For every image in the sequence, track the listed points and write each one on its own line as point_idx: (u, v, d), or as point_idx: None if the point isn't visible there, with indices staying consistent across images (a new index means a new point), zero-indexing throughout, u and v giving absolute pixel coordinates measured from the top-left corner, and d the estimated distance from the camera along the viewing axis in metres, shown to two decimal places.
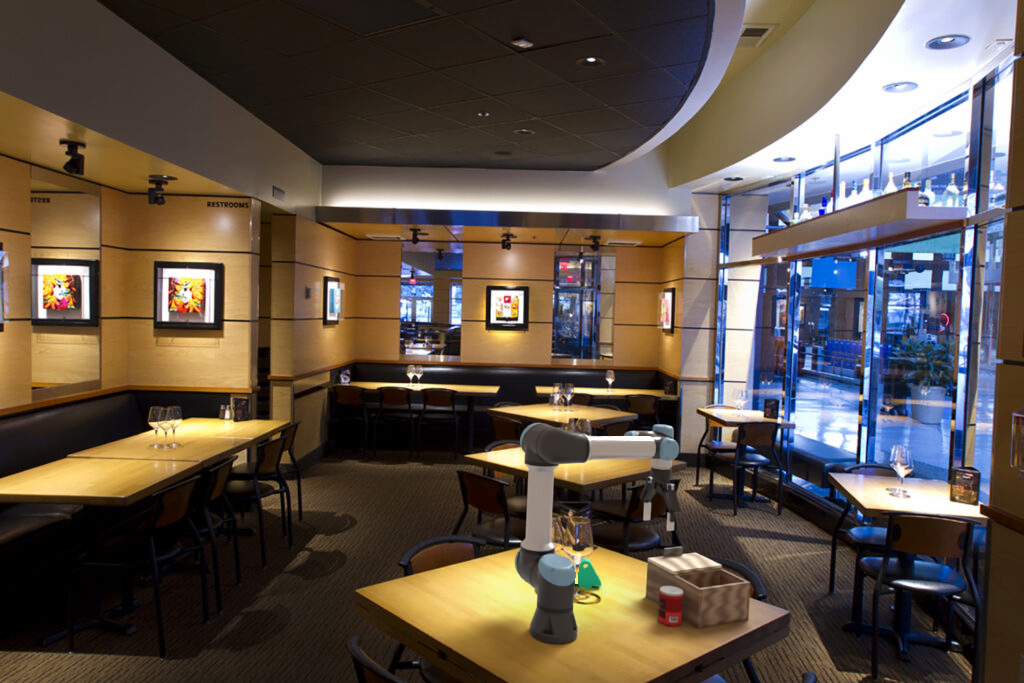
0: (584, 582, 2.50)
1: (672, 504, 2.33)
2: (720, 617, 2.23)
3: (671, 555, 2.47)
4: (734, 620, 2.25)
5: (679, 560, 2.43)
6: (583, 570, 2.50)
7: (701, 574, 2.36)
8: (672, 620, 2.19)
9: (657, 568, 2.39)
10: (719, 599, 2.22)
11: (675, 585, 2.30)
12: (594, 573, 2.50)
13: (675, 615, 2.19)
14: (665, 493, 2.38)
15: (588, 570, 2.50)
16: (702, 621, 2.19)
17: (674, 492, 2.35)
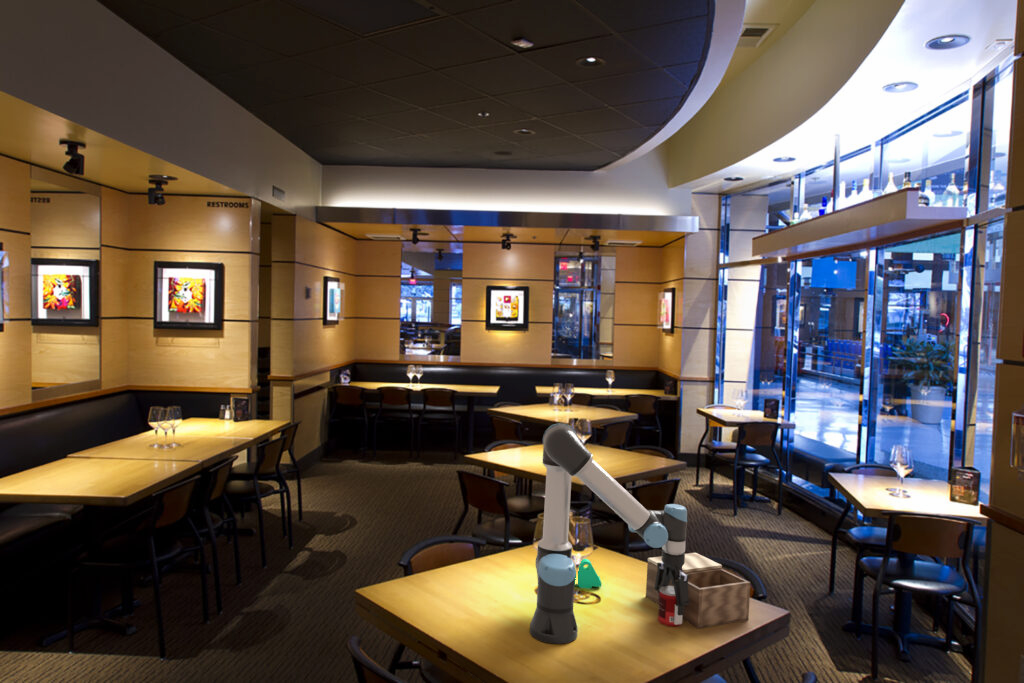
0: (584, 583, 2.49)
1: (681, 597, 2.16)
2: (720, 617, 2.23)
3: None
4: (734, 620, 2.25)
5: None
6: (583, 570, 2.49)
7: (701, 574, 2.36)
8: (673, 620, 2.19)
9: None
10: (719, 599, 2.22)
11: None
12: (594, 573, 2.49)
13: None
14: (676, 582, 2.20)
15: (588, 570, 2.49)
16: (702, 621, 2.19)
17: (686, 583, 2.17)
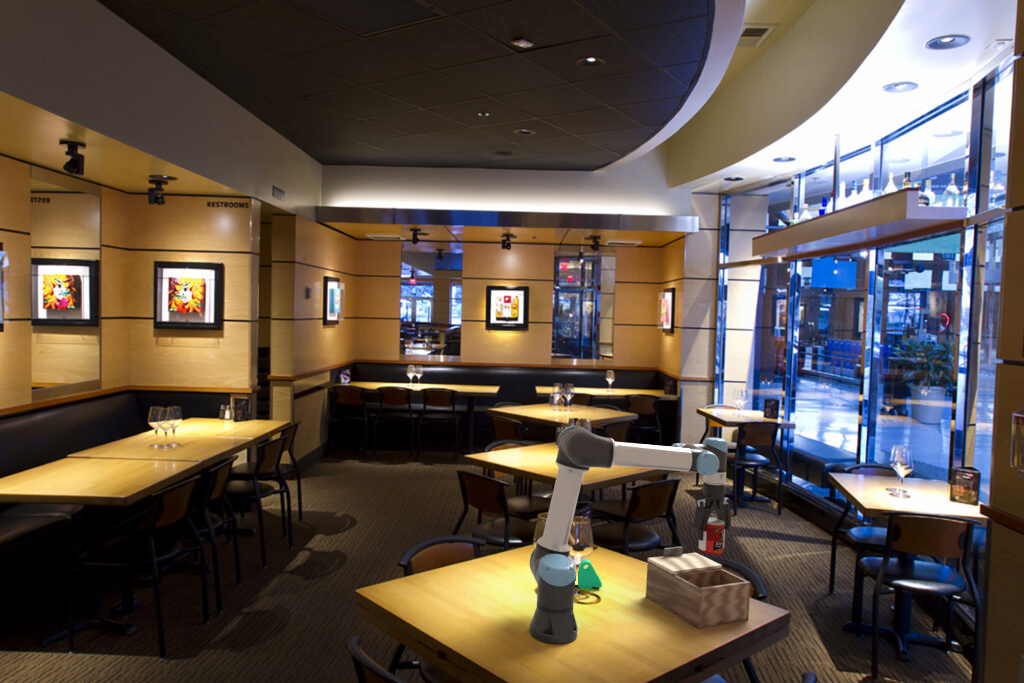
0: (584, 583, 2.49)
1: None
2: (720, 617, 2.23)
3: (671, 555, 2.47)
4: (734, 620, 2.25)
5: (679, 560, 2.43)
6: (583, 571, 2.49)
7: (701, 574, 2.36)
8: None
9: (657, 568, 2.39)
10: (719, 599, 2.22)
11: (675, 585, 2.30)
12: (594, 574, 2.49)
13: None
14: (704, 509, 2.29)
15: (588, 571, 2.49)
16: (702, 621, 2.19)
17: (699, 509, 2.26)
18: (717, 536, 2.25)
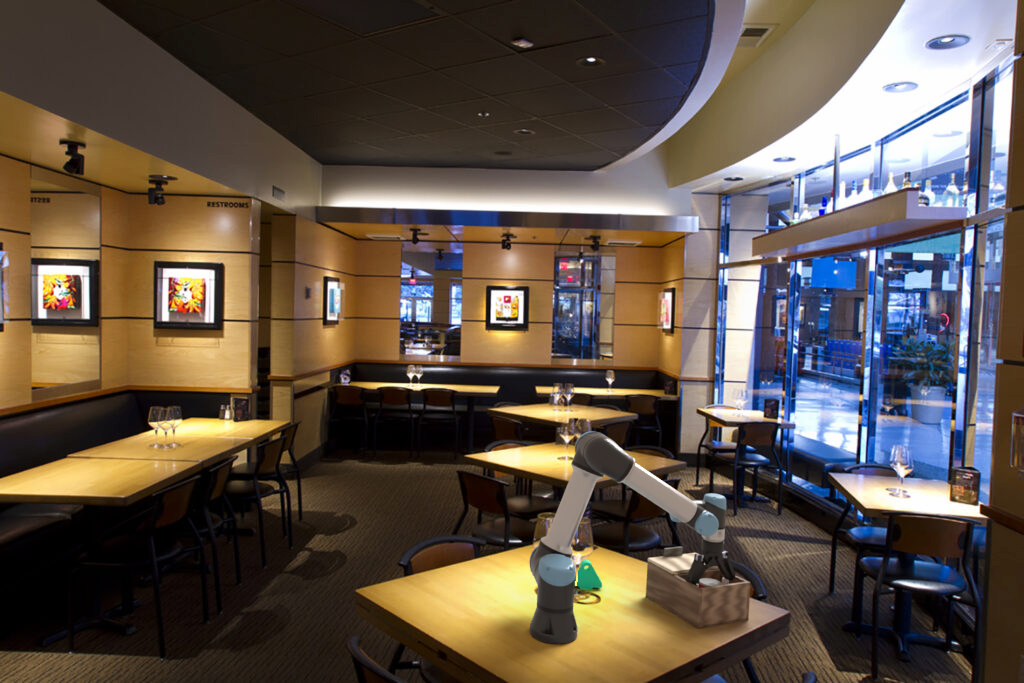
0: (585, 584, 2.48)
1: None
2: (720, 617, 2.23)
3: (671, 555, 2.47)
4: (734, 620, 2.25)
5: (679, 560, 2.43)
6: (584, 572, 2.48)
7: None
8: None
9: (657, 568, 2.39)
10: (719, 599, 2.22)
11: (675, 585, 2.30)
12: (595, 574, 2.48)
13: None
14: (701, 564, 2.29)
15: (589, 571, 2.48)
16: (702, 621, 2.19)
17: (696, 563, 2.26)
18: None
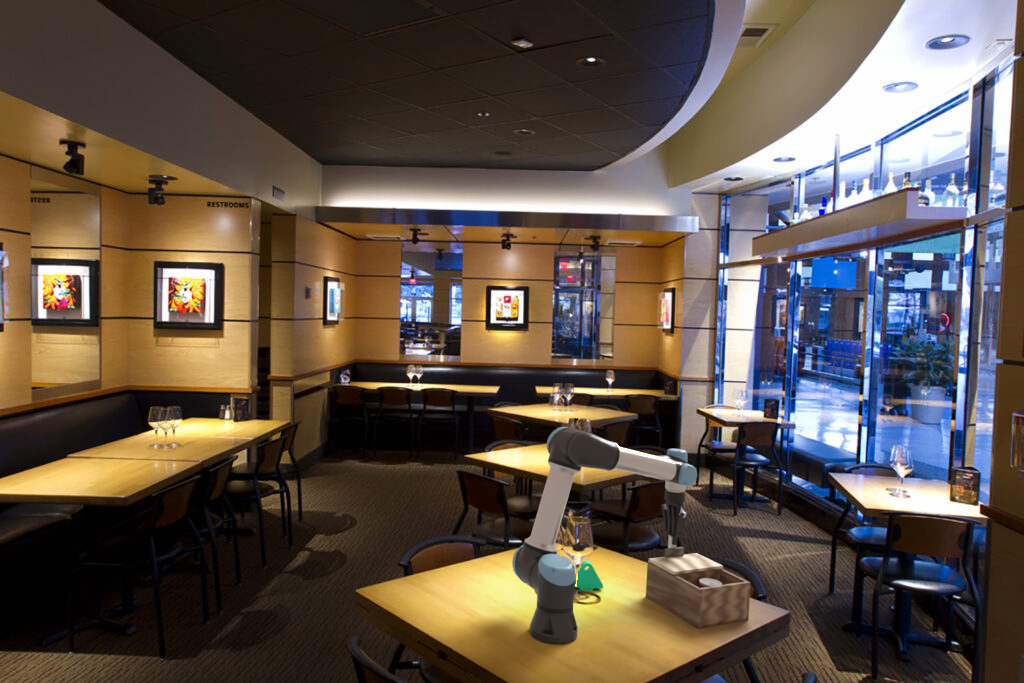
0: (585, 585, 2.47)
1: (677, 529, 2.45)
2: (720, 617, 2.23)
3: (672, 555, 2.47)
4: (734, 620, 2.25)
5: (680, 561, 2.43)
6: (584, 573, 2.47)
7: (701, 574, 2.36)
8: None
9: (657, 568, 2.39)
10: (719, 599, 2.22)
11: (675, 585, 2.30)
12: (595, 575, 2.47)
13: None
14: (675, 517, 2.47)
15: (589, 572, 2.47)
16: (702, 621, 2.19)
17: (684, 519, 2.45)
18: None
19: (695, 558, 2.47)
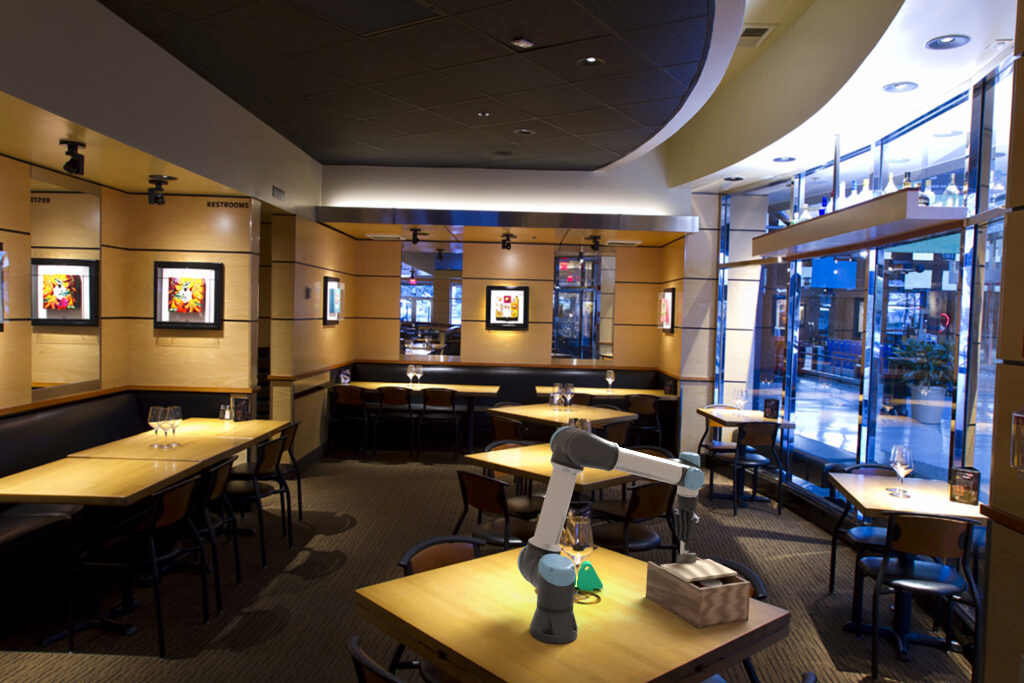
0: (586, 585, 2.47)
1: (689, 534, 2.39)
2: (720, 617, 2.23)
3: (684, 562, 2.41)
4: (734, 620, 2.25)
5: (693, 567, 2.37)
6: (585, 573, 2.47)
7: None
8: None
9: (657, 568, 2.39)
10: (719, 599, 2.22)
11: (675, 585, 2.30)
12: (596, 575, 2.47)
13: None
14: (688, 522, 2.41)
15: (590, 573, 2.47)
16: (702, 621, 2.19)
17: (696, 525, 2.38)
18: None
19: (708, 564, 2.40)
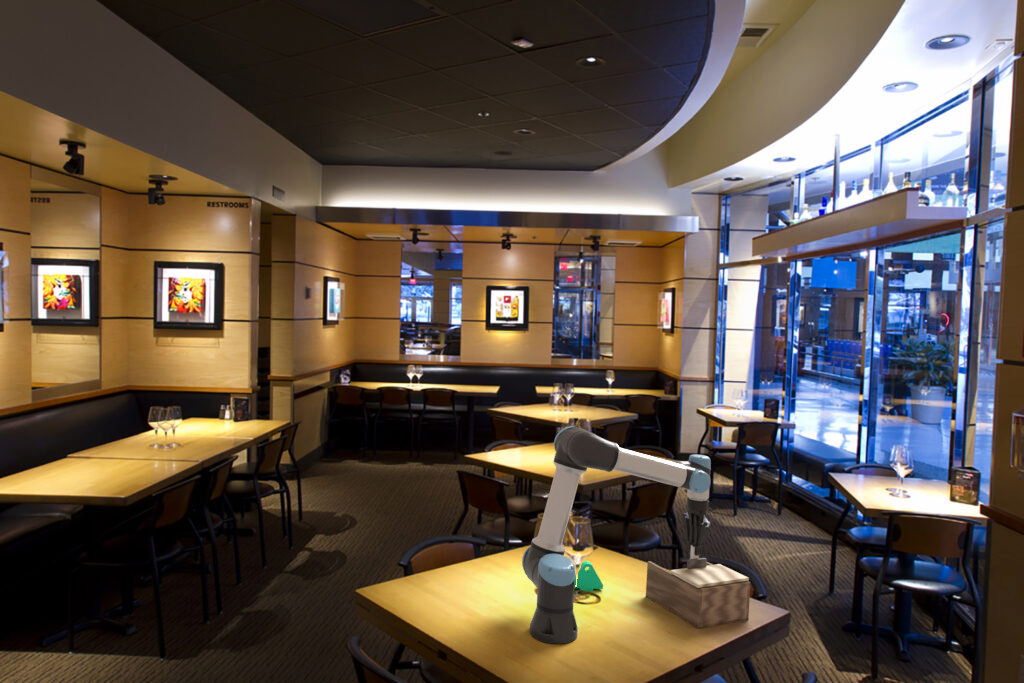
0: (586, 585, 2.47)
1: (700, 539, 2.34)
2: (720, 617, 2.23)
3: (695, 567, 2.36)
4: (734, 620, 2.25)
5: (703, 572, 2.32)
6: (585, 573, 2.47)
7: None
8: None
9: (657, 568, 2.39)
10: (719, 599, 2.22)
11: (675, 585, 2.30)
12: (596, 576, 2.47)
13: None
14: (698, 527, 2.36)
15: (590, 573, 2.47)
16: (702, 621, 2.19)
17: (707, 529, 2.33)
18: None
19: (719, 569, 2.35)
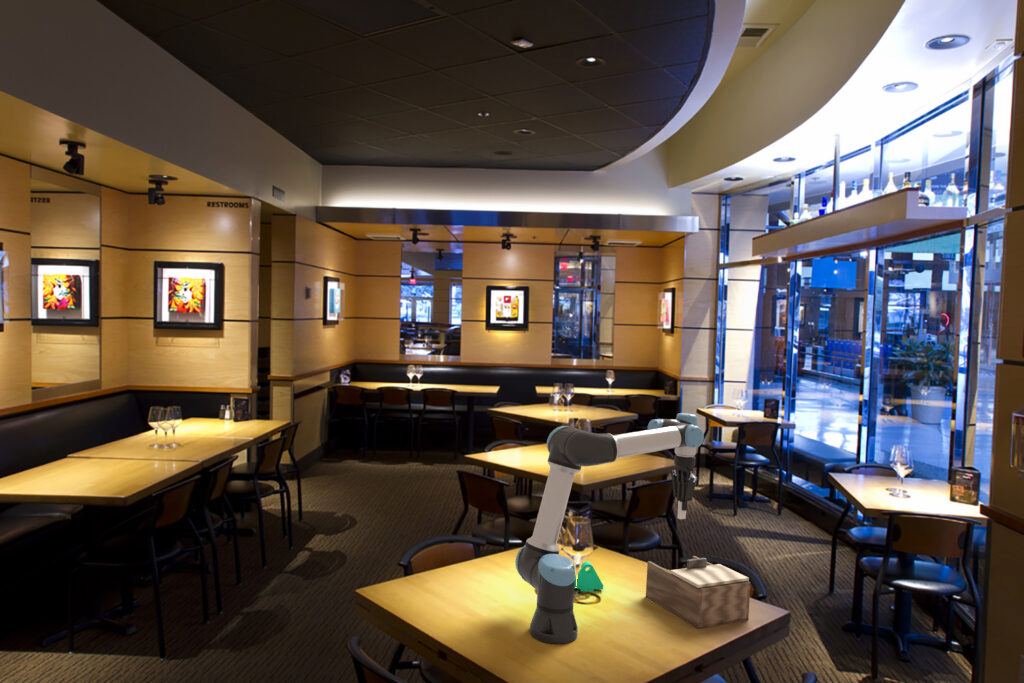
0: (586, 586, 2.46)
1: (687, 494, 2.41)
2: (720, 617, 2.23)
3: (695, 567, 2.35)
4: (734, 620, 2.25)
5: (703, 572, 2.31)
6: (585, 574, 2.46)
7: None
8: None
9: (657, 568, 2.39)
10: (719, 599, 2.22)
11: (675, 585, 2.30)
12: (596, 576, 2.47)
13: None
14: (685, 482, 2.43)
15: (590, 573, 2.46)
16: (702, 621, 2.19)
17: (694, 484, 2.41)
18: None
19: (719, 569, 2.35)
